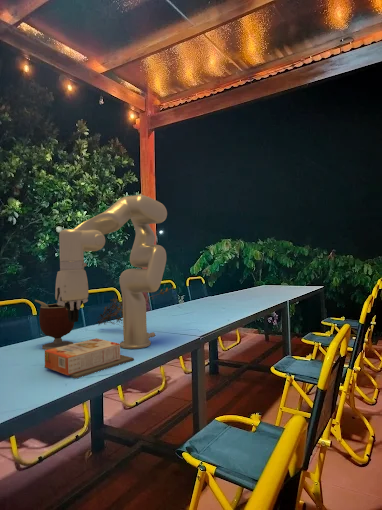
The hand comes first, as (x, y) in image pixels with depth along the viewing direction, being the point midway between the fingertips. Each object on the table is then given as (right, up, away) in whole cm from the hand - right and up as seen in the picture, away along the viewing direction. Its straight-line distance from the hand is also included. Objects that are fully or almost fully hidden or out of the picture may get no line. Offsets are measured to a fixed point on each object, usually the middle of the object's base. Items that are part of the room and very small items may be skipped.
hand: (73, 321), depth 119 cm
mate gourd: (-17, -16, +30) cm, 39 cm away
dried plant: (+11, -16, +55) cm, 59 cm away
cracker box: (-4, -12, -6) cm, 14 cm away
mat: (+4, -16, +5) cm, 17 cm away
